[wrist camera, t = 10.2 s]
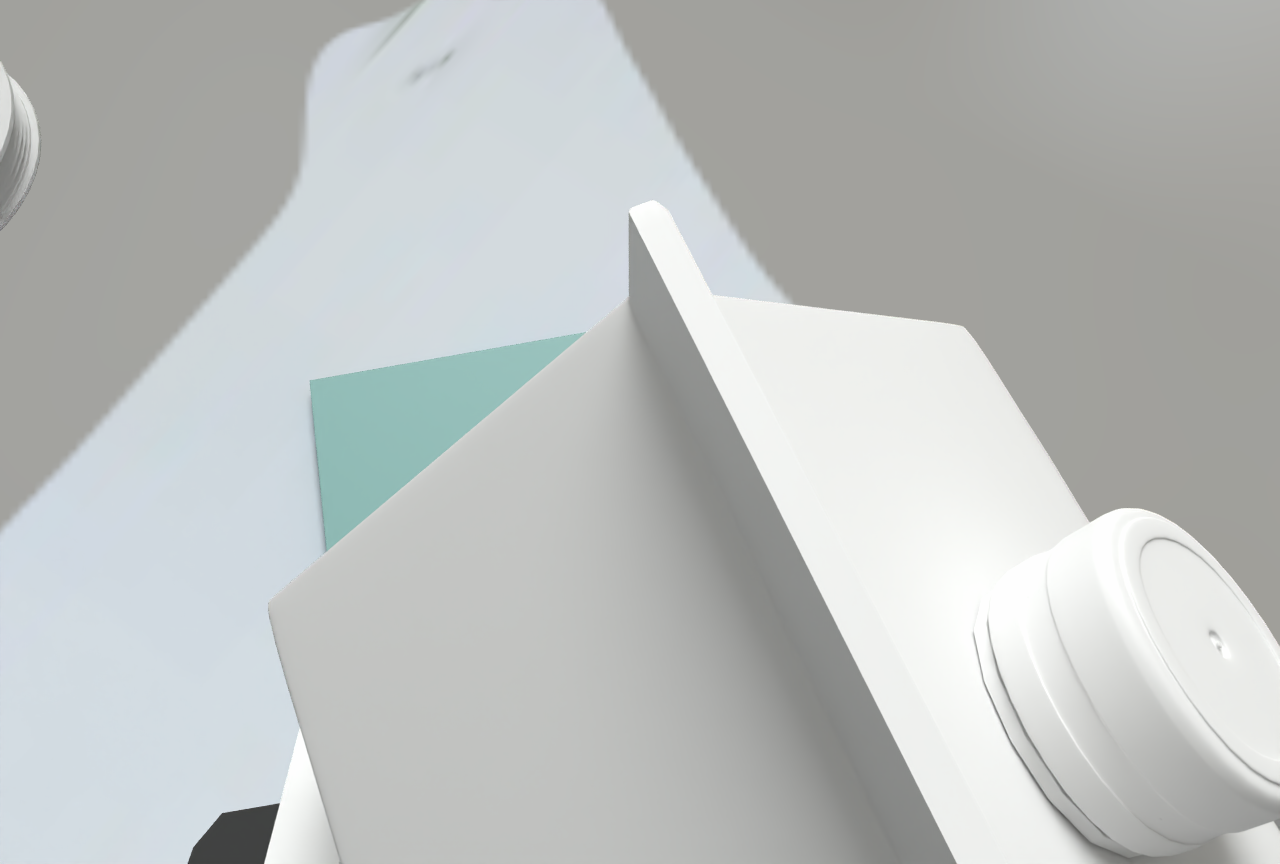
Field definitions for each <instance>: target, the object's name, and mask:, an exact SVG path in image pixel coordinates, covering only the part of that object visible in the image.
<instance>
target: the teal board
mask: <svg viewBox="0 0 1280 864" xmlns="http://www.w3.org/2000/svg"><path fill="white" fill-rule="evenodd" d="M585 333H586V332H584V333H579V334H573V335H567V336H562V337H556V338H550V339H544V340H539V341H533V342H527V343H522V344H516V345H510V346H504V347H499V348H493V349H487V350H482V351H476V352H470V353H464V354H459V355H453V356H447V357H441V358H436V359H430V360H424V361H419V362H413V363H407V364H401V365H396V366H390V367H384V368H379V369H373V370H367V371H361V372H356V373H350V374H344V375H339V376H333V377H327V378H321V379H316V380H310V389H311V399H312V409H313V419H314V429H315V439H316V449H317V459H318V469H319V479H320V489H321V499H322V509H323V519H324V529H325V539H326V549H327V551H328V550H329V549H330V548H331V547H333V546H334V545H335V544H336V543H337V542H339V541H340V540H341V539H342V538H343V537H344V536H346V535H347V534H348V533H349V532H350V531H352V530H353V529H354V528H355V527H356V526H357V525H359V524H360V523H361V522H362V521H363V520H365V519H366V518H367V517H368V516H369V515H371V514H372V513H373V512H374V511H375V510H376V509H378V508H379V507H380V506H381V505H382V504H384V503H385V502H386V501H387V500H388V499H389V498H391V497H392V496H393V495H394V494H395V493H397V492H398V491H399V490H400V489H401V488H402V487H404V486H405V485H406V484H407V483H408V482H410V481H411V480H412V479H413V478H414V477H416V476H417V475H418V474H419V473H420V472H421V471H423V470H424V469H425V468H426V467H427V466H429V465H430V464H431V463H432V462H433V461H434V460H436V459H437V458H438V457H439V456H440V455H442V454H443V453H444V452H445V451H446V450H448V449H449V448H450V447H451V446H452V445H453V444H455V443H456V442H457V441H458V440H459V439H461V438H462V437H463V436H464V435H465V434H466V433H468V432H469V431H470V430H471V429H472V428H474V427H475V426H476V425H477V424H478V423H479V422H481V421H482V420H483V419H484V418H485V417H487V416H488V415H489V414H490V413H491V412H493V411H494V410H495V409H496V408H497V407H498V406H500V405H501V404H502V403H503V402H504V401H506V400H507V399H508V398H509V397H510V396H511V395H513V394H514V393H515V392H516V391H517V390H519V389H520V388H521V387H522V386H523V385H524V384H526V383H527V382H528V381H529V380H530V379H532V378H533V377H534V376H535V375H536V374H538V373H539V372H540V371H541V370H542V369H543V368H545V367H546V366H547V365H548V364H549V363H551V362H552V361H553V360H554V359H555V358H556V357H558V356H559V355H560V354H561V353H562V352H564V351H565V350H566V349H567V348H568V347H570V346H571V345H572V344H573V343H574V342H575V341H577V340H578V339H579V338H580V337H581V336H583V335H584V334H585Z"/></svg>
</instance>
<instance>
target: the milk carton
mask: <svg viewBox="0 0 1280 864" xmlns="http://www.w3.org/2000/svg"><path fill="white" fill-rule="evenodd" d="M268 611H269V618H270V622H271V626H272V630H273V635H274V639H275V643H276V647H277V650H278V654H279V657H280V661H281V665H282V668H283V672H284V675H285V679H286V682H287V685H288V689H289V692H290V696H291V699H292V702H293V706H294V709H295V713H296V716H297V719H298V723H299V726H300V729H301V733H302V736H303V739H304V743H305V746H306V749H307V753H308V756H309V759H310V763H311V766H312V769H313V773H314V776H315V779H316V783H317V786H318V789H319V793H320V796H321V799H322V803H323V806H324V809H325V813H326V816H327V819H328V823H329V826H330V829H331V833H332V836H333V839H334V843H335V846H336V849H337V853H338V856H339V860H340V863H341V864H1280V831H1279V829H1278V827H1277V826H1276V824H1275V823H1274V821H1275V820H1278V819H1280V646H1279V645H1278V643H1277V642H1276V640H1275V638H1274V637H1273V635H1272V634H1271V632H1270V630H1269V629H1268V627H1267V626H1266V624H1265V622H1264V621H1263V619H1262V618H1261V617H1260V615H1259V614H1258V612H1257V611H1256V609H1255V608H1254V607H1253V605H1252V604H1251V602H1250V601H1249V599H1248V598H1247V597H1246V596H1245V594H1244V593H1243V592H1242V590H1241V589H1240V588H1239V587H1238V585H1237V584H1236V583H1235V581H1234V580H1233V579H1232V577H1231V576H1230V575H1229V574H1228V573H1227V572H1226V571H1225V569H1223V567H1222V566H1221V565H1220V564H1219V563H1218V562H1217V560H1216V559H1215V558H1214V557H1213V556H1212V555H1211V554H1210V553H1209V552H1208V551H1207V550H1205V549H1204V547H1202V546H1201V545H1200V544H1199V543H1198V542H1197V541H1196V540H1195V539H1194V538H1193V537H1192V536H1191V535H1189V534H1188V533H1187V532H1185V531H1184V530H1183V529H1181V528H1180V527H1179V526H1177V525H1176V524H1175V523H1173V522H1171V521H1170V520H1168V519H1166V518H1164V517H1162V516H1160V515H1158V514H1156V513H1153V512H1149V511H1146V510H1143V509H1132V508H1122V509H1117V510H1114V511H1112V512H1109V513H1107V514H1104V515H1102V516H1101V517H1099V518H1097V519H1096V520H1094V521H1092V522H1090V523H1089V521H1088V519H1087V518H1086V516H1085V514H1084V513H1083V511H1082V510H1081V508H1080V507H1079V505H1078V503H1077V501H1076V500H1075V498H1074V497H1073V495H1072V493H1071V492H1070V490H1069V488H1068V486H1067V485H1066V483H1065V482H1064V480H1063V478H1062V477H1061V475H1060V473H1059V472H1058V470H1057V468H1056V467H1055V465H1054V463H1053V462H1052V460H1051V458H1050V457H1049V455H1048V454H1047V452H1046V450H1045V449H1044V448H1043V446H1042V444H1041V443H1040V441H1039V440H1038V438H1037V436H1036V435H1035V433H1034V432H1033V430H1032V429H1031V427H1030V425H1029V424H1028V422H1027V421H1026V419H1025V418H1024V416H1023V415H1022V413H1021V411H1020V410H1019V408H1018V407H1017V405H1016V404H1015V402H1014V400H1013V399H1012V397H1011V396H1010V394H1009V392H1008V391H1007V389H1006V388H1005V386H1004V384H1003V383H1002V381H1001V380H1000V378H999V376H998V375H997V373H996V372H995V370H994V368H993V367H992V365H991V364H990V362H989V361H988V359H987V358H986V356H985V355H984V353H983V352H982V350H981V349H980V347H979V346H978V344H977V343H976V341H975V340H974V339H973V337H972V336H971V335H970V334H969V333H968V331H966V329H965V328H964V327H963V326H959V325H954V324H947V323H939V322H931V321H924V320H915V319H907V318H898V317H890V316H881V315H874V314H865V313H857V312H849V311H840V310H831V309H824V308H815V307H807V306H799V305H791V304H782V303H774V302H766V301H758V300H749V299H741V298H733V297H725V296H716V295H712V293H711V291H710V289H709V287H708V285H707V284H706V282H705V280H704V278H703V276H702V274H701V272H700V270H699V268H698V266H697V264H696V262H695V261H694V259H693V257H692V255H691V253H690V251H689V249H688V247H687V245H686V243H685V241H684V239H683V237H682V236H681V234H680V232H679V230H678V228H677V226H676V224H675V222H674V220H673V218H672V216H671V214H670V212H669V211H668V209H666V208H665V207H664V206H662V205H661V204H659V203H658V202H656V201H652V200H651V201H649V202H646V203H643V204H640V205H637V206H634V207H632V208H631V209H630V210H629V296H628V297H627V298H626V299H625V300H624V301H623V302H622V303H620V304H619V305H618V306H617V307H616V308H615V309H613V310H612V311H611V312H610V313H609V314H607V315H606V316H605V317H604V318H603V319H601V320H600V321H599V322H598V323H597V324H596V325H594V326H593V327H592V328H591V329H590V330H588V331H587V332H586V333H585V334H584V335H583V336H581V337H580V338H579V339H578V340H577V341H575V342H574V343H573V344H572V345H571V346H570V347H568V348H567V349H566V350H565V351H564V352H562V353H561V354H560V355H559V356H558V357H556V358H555V359H554V360H553V361H552V362H551V363H549V364H548V365H547V366H546V367H545V368H543V369H542V370H541V371H540V372H539V373H538V374H536V375H535V376H534V377H533V378H532V379H530V380H529V381H528V382H527V383H526V384H524V385H523V386H522V387H521V388H520V389H519V390H517V391H516V392H515V393H514V394H513V395H511V396H510V397H509V398H508V399H507V400H506V401H504V402H503V403H502V404H501V405H500V406H498V407H497V408H496V409H495V410H494V411H493V412H491V413H490V414H489V415H488V416H487V417H485V418H484V419H483V420H482V421H481V422H479V423H478V424H477V425H476V426H475V427H474V428H472V429H471V430H470V431H469V432H468V433H466V434H465V435H464V436H463V437H462V438H461V439H459V440H458V441H457V442H456V443H455V444H453V445H452V446H451V447H450V448H449V449H448V450H446V451H445V452H444V453H443V454H442V455H440V456H439V457H438V458H437V459H436V460H434V461H433V462H432V463H431V464H430V465H429V466H427V467H426V468H425V469H424V470H423V471H421V472H420V473H419V474H418V475H417V476H416V477H414V478H413V479H412V480H411V481H410V482H408V483H407V484H406V485H405V486H404V487H402V488H401V489H400V490H399V491H398V492H397V493H395V494H394V495H393V496H392V497H391V498H389V499H388V500H387V501H386V502H385V503H384V504H382V505H381V506H380V507H379V508H378V509H376V510H375V511H374V512H373V513H372V514H371V515H369V516H368V517H367V518H366V519H365V520H363V521H362V522H361V523H360V524H359V525H357V526H356V527H355V528H354V529H353V530H352V531H350V532H349V533H348V534H347V535H346V536H344V537H343V538H342V539H341V540H340V541H339V542H337V543H336V544H335V545H334V546H333V547H331V548H330V549H329V550H328V551H327V552H326V553H324V554H323V555H322V556H321V557H320V558H318V559H317V560H316V561H315V562H314V563H312V564H311V565H310V566H309V567H308V568H307V569H305V570H304V571H303V572H302V573H301V574H299V575H298V576H297V577H296V578H295V579H294V580H292V581H291V582H290V583H289V584H288V585H286V586H285V587H284V588H283V589H282V590H281V591H279V592H278V593H277V594H276V595H275V596H274V597H272V598H271V599H270V600H269V603H268Z"/></svg>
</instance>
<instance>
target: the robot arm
mask: <svg viewBox="0 0 1280 864" xmlns="http://www.w3.org/2000/svg"><path fill="white" fill-rule="evenodd" d="M1274 823H1275V824H1276V826H1277V827H1278V829H1279V831H1280V819H1278V820H1275V821H1274ZM188 864H341V863H340V860H339V856H338V853H337V849H336V846H335V843H334V839H333V836H332V833H331V829H330V826H329V823H328V819H327V816H326V813H325V809H324V806H323V803H322V799H321V796H320V793H319V789H318V786H317V783H316V779H315V776H314V773H313V769H312V766H311V763H310V759H309V756H308V753H307V749H306V746H305V743H304V739H303V736H302V733H301V729H299V733H298V737H297V741H296V744H295V748H294V752H293V756H292V760H291V763H290V767H289V771H288V775H287V779H286V782H285V786H284V790H283V794H282V798H281V801H280V803H279V804H273V805H267V806H262V807H256V808H250V809H244V810H238V811H233V812H227V813H222V814H221V815H220V816H219V818H218V819H217V820H216V821H215V822H214V824H213V825H212V826H211V827H210V828H209V829H208V831H207V832H206V833H205V834H204V835H203V837H202V838H201V839H200V840H199V841H198V843H197V844H196V845H195V846H194V847H193V850H192V853H191V856H190V858H189V861H188Z"/></svg>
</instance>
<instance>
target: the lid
mask: <svg viewBox="0 0 1280 864" xmlns="http://www.w3.org/2000/svg"><path fill="white" fill-rule="evenodd" d="M40 150H41V137H40V126H39V122H38V119H37V116H36V113H35V110H34V108H33V106H32V104H31V102H30V100H29V98H28V96H27V95H26V94H25V93H24V91H23V90H22V89H21V87H20V86H19V85H18V83H17V82H16V81H15V80H14V79H13V78H11V77H10V76H9V75H8V74H7V72H6V70H5V68H4V66H3V64H2V62H1V61H0V231H1V230H2V229H3V228H4V227H5V226H6V225H7V223H8V222H9V221H10V219H11V218H12V217H13V215H14V214H15V213H16V212H17V210H18V209H19V208H20V206H21V204H22V202H23V201H24V199H25V197H26V196H27V194H28V192H29V190H30V187H31V185H32V183H33V180H34V178H35V176H36V172H37V167H38V164H39V160H40Z"/></svg>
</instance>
